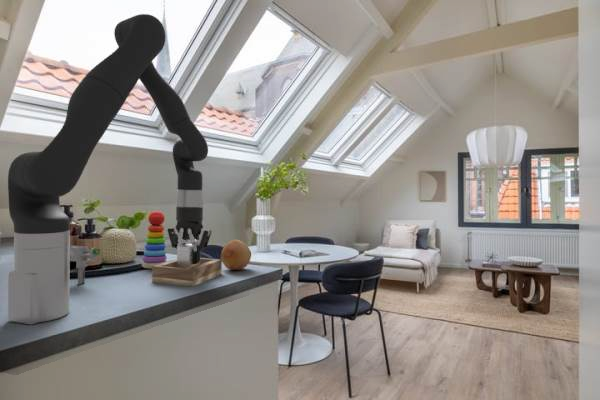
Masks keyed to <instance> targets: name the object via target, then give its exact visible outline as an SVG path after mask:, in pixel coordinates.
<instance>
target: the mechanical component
mask: <svg viewBox="0 0 600 400" xmlns="http://www.w3.org/2000/svg"><path fill="white" fill-rule="evenodd" d="M100 253H101V250H100V248H98V247H91V248H90V249H89V247H88V246H86V245H85V246H84V245H70V262H75V263H76V266H75V268H76V269H77V285H82V284H85V283H86V282H85V280H86V279H85V277H86V275H85V274H86V273H85V272H86V270H85V269H86V267H88V265H87V263H91V262H95V261H98V260H99V257H100ZM89 257H90V258H89Z"/></svg>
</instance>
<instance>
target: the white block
mask: <svg viewBox="0 0 600 400" xmlns="http://www.w3.org/2000/svg"><path fill="white" fill-rule="evenodd" d="M176 250H177V251H176V254H177V255H176V259H177V267H183V268H191V267H193V266H196V265H199V264H200V261H199V263H197V264H193V252H194V250H193V246H192V244H191V243H186V245H181V246H177V249H176ZM201 251H202V250H201ZM201 251H200V258H202V256H201Z"/></svg>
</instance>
